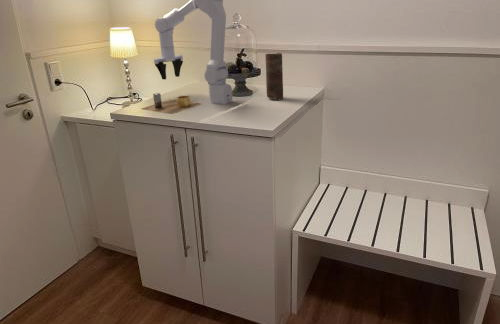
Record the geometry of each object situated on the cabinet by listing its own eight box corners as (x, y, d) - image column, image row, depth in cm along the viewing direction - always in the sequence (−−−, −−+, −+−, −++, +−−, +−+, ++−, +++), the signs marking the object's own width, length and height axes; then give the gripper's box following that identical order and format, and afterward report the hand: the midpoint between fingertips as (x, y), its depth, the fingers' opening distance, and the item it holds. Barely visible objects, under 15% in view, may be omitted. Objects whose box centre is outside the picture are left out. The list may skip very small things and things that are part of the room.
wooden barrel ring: (193, 104, 159) (192, 96, 158) (184, 107, 155) (183, 99, 153) (183, 103, 162) (182, 95, 160) (175, 106, 157) (174, 97, 156)
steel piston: (163, 106, 157) (162, 93, 155) (158, 108, 155) (156, 95, 153) (158, 105, 159) (156, 93, 157) (153, 107, 156) (151, 94, 154)
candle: (263, 100, 166) (263, 53, 159) (269, 96, 173) (268, 51, 165) (280, 101, 164) (280, 53, 156) (285, 97, 170) (285, 51, 162)
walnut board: (201, 105, 160) (201, 103, 160) (172, 116, 146) (172, 114, 146) (170, 101, 169) (170, 99, 169) (140, 111, 155) (140, 108, 155)
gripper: (174, 44, 173) (177, 74, 178) (148, 48, 163) (152, 79, 168) (184, 45, 169) (187, 75, 174) (158, 48, 158) (162, 81, 164)
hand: (170, 77), depth 171 cm, fingers open, 7 cm apart
